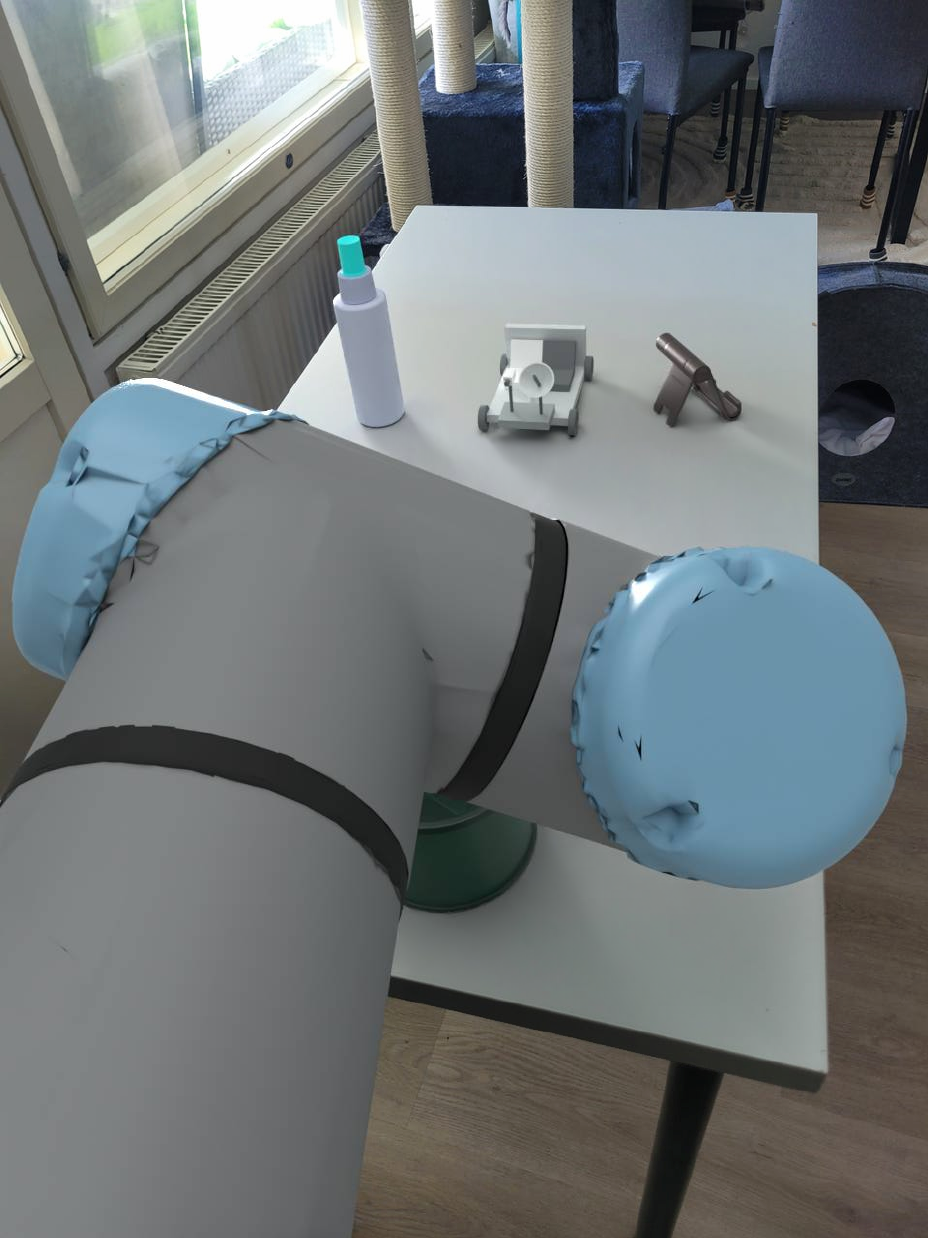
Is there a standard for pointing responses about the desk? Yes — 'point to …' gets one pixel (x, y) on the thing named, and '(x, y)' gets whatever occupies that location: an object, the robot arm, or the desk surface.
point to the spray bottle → (366, 339)
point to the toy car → (539, 378)
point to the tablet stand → (690, 382)
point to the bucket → (465, 855)
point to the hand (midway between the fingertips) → (442, 701)
